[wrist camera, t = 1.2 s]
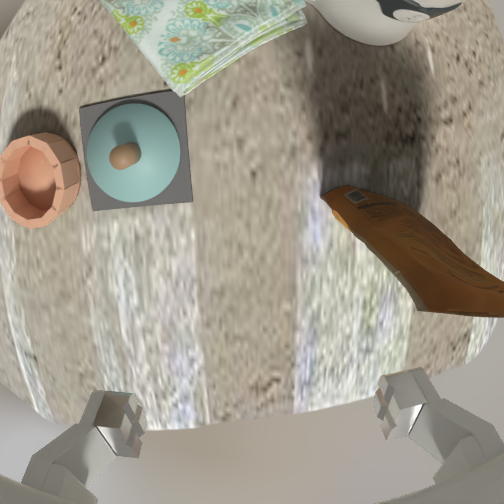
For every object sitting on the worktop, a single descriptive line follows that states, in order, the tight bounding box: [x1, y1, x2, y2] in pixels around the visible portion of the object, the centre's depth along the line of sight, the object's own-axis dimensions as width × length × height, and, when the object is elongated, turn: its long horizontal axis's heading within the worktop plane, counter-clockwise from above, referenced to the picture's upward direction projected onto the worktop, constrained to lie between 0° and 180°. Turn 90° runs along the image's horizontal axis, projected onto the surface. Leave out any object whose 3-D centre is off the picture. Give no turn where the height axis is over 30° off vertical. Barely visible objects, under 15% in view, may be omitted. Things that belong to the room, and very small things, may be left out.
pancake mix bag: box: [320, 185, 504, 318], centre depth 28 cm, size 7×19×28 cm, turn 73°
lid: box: [87, 103, 181, 202], centre depth 34 cm, size 12×12×4 cm
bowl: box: [0, 132, 81, 228], centre depth 35 cm, size 12×12×5 cm
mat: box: [79, 91, 193, 211], centre depth 37 cm, size 14×14×1 cm
